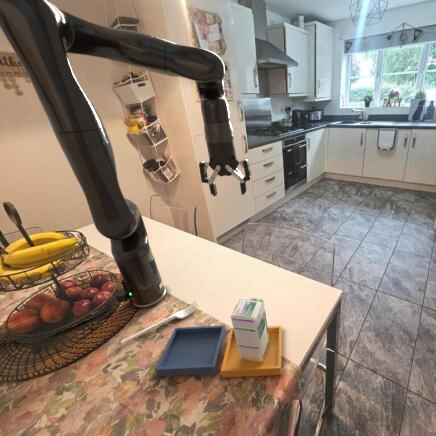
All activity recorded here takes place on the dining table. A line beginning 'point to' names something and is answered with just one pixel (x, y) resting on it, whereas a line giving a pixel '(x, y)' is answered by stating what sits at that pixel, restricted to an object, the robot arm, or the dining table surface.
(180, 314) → the fork
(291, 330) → the dining table surface
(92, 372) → the dining table surface
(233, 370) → the honey tray
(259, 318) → the syrup box
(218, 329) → the blue tray
